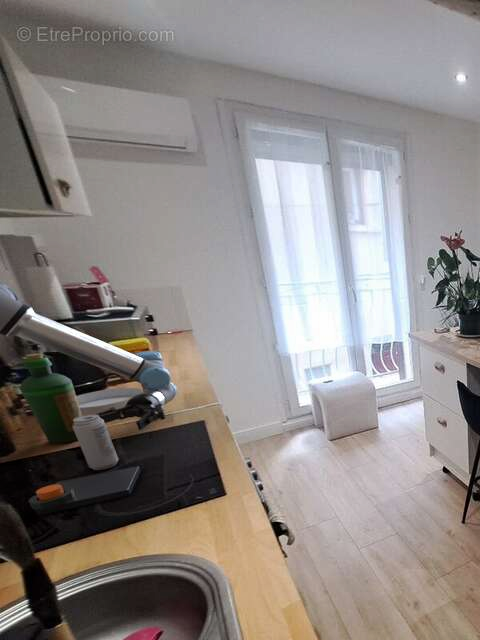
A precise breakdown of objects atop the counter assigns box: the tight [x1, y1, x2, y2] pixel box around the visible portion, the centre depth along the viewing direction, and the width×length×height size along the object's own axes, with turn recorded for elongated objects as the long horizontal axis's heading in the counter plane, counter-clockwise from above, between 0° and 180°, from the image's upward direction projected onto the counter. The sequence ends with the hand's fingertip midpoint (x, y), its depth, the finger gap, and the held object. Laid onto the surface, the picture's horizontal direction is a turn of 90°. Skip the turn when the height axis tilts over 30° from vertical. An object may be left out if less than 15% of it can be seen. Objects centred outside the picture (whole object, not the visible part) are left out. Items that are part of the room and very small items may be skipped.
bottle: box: [18, 353, 82, 445], centre depth 127 cm, size 11×11×28 cm
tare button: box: [35, 483, 64, 500], centre depth 97 cm, size 4×4×2 cm
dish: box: [76, 387, 143, 416], centre depth 154 cm, size 22×22×5 cm
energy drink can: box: [72, 414, 120, 471], centre depth 114 cm, size 6×6×15 cm
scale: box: [28, 465, 142, 516], centre depth 104 cm, size 17×15×4 cm
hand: (110, 428), depth 120 cm, fingers open, 13 cm apart
